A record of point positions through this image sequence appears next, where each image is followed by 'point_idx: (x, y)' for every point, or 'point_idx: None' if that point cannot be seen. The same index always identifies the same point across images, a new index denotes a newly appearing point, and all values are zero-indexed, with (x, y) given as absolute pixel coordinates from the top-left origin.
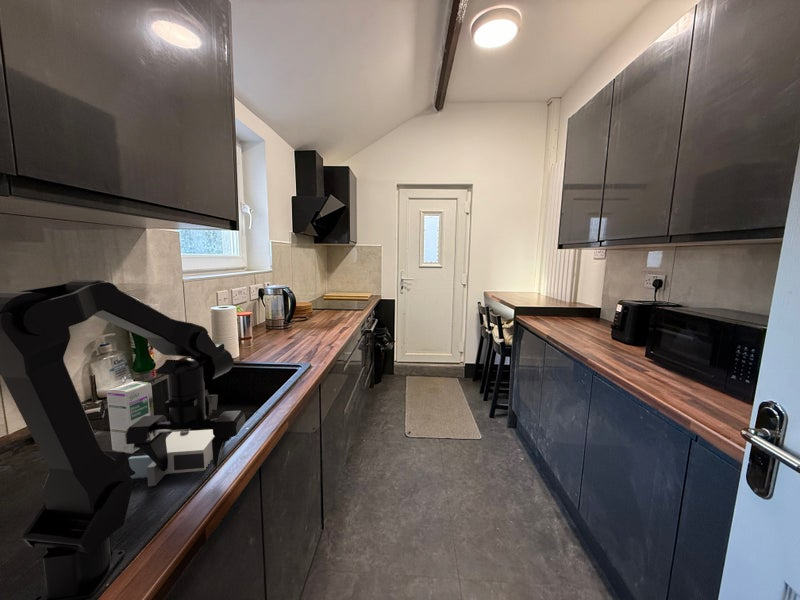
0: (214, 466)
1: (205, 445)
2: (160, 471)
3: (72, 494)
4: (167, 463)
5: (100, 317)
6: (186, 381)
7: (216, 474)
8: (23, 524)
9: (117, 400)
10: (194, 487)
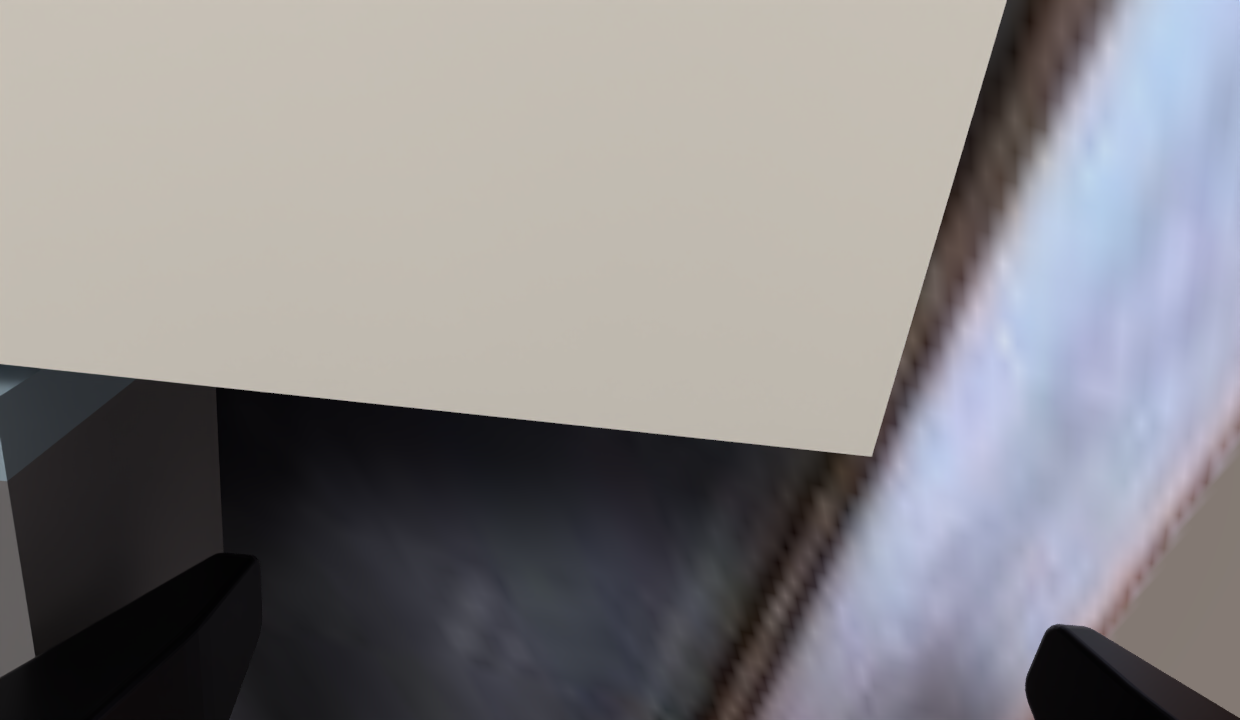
0: (1031, 709)
1: (893, 250)
2: (156, 499)
3: None
4: (226, 609)
5: None
6: None
7: (929, 418)
8: None
9: None
10: (709, 600)
